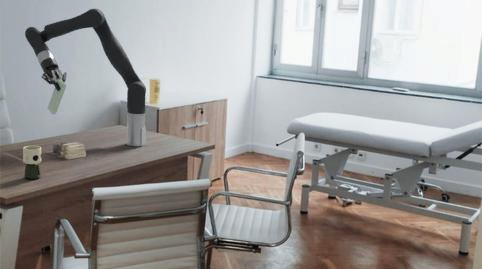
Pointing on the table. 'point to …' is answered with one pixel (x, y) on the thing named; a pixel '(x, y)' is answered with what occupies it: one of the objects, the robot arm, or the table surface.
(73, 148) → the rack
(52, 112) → the slat
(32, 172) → the character mug
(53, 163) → the table surface
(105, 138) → the table surface
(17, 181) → the table surface
